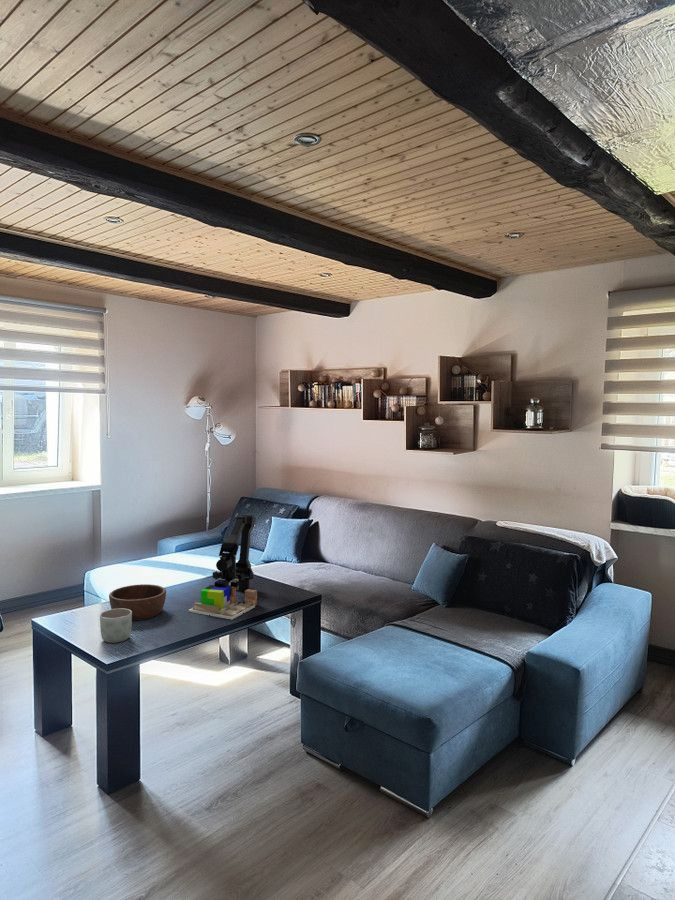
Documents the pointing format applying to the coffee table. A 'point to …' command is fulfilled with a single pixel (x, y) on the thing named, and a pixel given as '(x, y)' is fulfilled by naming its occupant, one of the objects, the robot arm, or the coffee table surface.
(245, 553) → the robot arm
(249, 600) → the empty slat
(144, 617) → the wooden bowl
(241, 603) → the frame
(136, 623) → the coffee table surface
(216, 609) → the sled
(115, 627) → the planter
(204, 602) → the puzzle toy
